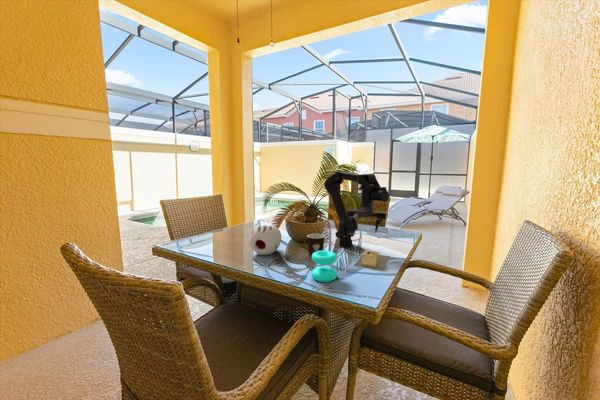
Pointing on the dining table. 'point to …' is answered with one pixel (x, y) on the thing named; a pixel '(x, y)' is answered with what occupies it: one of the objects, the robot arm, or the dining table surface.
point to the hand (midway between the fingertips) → (366, 231)
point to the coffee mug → (314, 243)
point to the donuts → (323, 272)
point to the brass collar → (370, 258)
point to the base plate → (380, 266)
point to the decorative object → (265, 239)
